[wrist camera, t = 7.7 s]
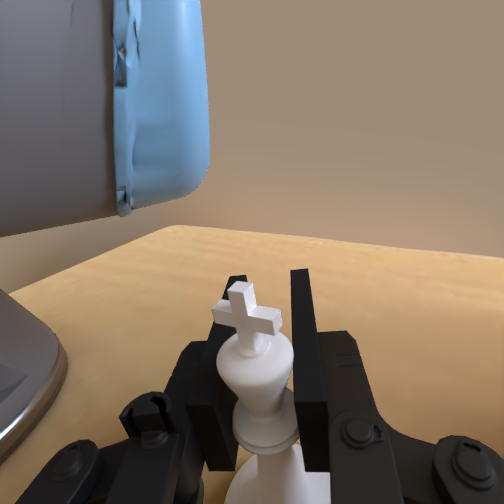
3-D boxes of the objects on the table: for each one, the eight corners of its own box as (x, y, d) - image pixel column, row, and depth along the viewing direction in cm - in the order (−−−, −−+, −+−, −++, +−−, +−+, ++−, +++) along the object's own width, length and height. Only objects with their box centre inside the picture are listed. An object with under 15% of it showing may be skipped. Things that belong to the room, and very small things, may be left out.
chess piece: (260, 435, 14) (215, 240, 10) (372, 481, 11) (370, 248, 7) (195, 565, 10) (80, 333, 6) (342, 677, 8) (306, 410, 4)
